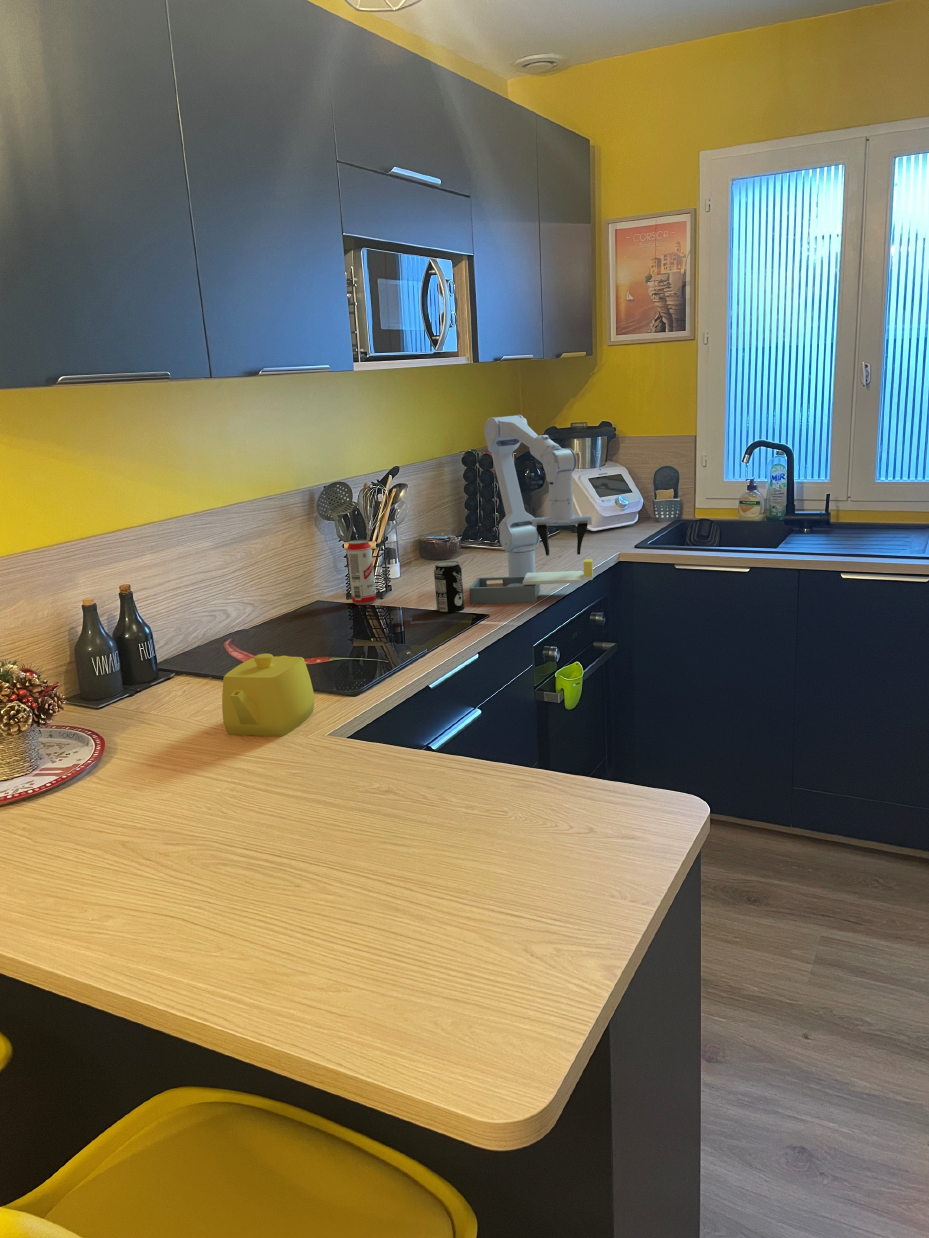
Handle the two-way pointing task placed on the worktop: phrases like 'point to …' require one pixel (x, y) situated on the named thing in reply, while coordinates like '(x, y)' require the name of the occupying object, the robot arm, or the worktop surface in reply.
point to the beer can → (361, 572)
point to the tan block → (494, 583)
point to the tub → (503, 591)
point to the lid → (561, 576)
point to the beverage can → (448, 587)
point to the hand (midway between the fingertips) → (563, 554)
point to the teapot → (267, 696)
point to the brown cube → (515, 585)
